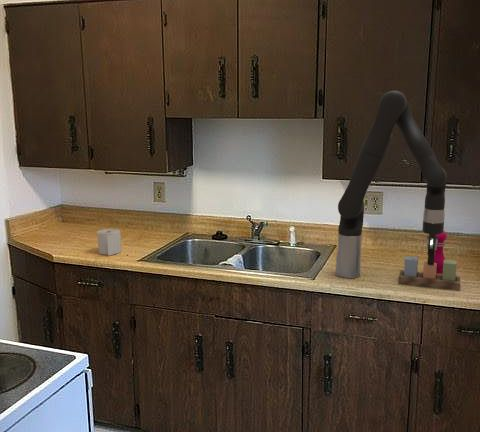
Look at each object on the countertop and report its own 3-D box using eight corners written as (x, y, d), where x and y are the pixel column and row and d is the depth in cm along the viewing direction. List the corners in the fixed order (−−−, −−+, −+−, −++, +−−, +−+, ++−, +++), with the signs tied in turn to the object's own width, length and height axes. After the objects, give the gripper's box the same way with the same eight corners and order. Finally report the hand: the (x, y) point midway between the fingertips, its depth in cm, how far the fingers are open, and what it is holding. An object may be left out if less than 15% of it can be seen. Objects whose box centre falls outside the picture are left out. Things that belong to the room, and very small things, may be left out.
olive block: (442, 280, 205) (443, 263, 204) (442, 277, 209) (443, 259, 208) (455, 282, 203) (456, 264, 202) (455, 278, 208) (456, 260, 206)
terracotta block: (422, 282, 208) (423, 265, 206) (423, 279, 212) (424, 262, 211) (435, 284, 206) (436, 266, 205) (435, 280, 210) (436, 263, 209)
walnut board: (398, 284, 209) (398, 276, 209) (400, 277, 217) (400, 269, 217) (459, 291, 201) (460, 283, 201) (459, 283, 209) (460, 276, 209)
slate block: (403, 276, 210) (404, 259, 209) (404, 273, 214) (405, 256, 213) (416, 278, 208) (417, 260, 207) (417, 274, 213) (418, 257, 211)
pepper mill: (441, 270, 225) (444, 223, 221) (448, 276, 218) (452, 227, 214) (423, 271, 225) (427, 224, 220) (430, 276, 218) (433, 228, 213)
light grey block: (114, 247, 264) (113, 227, 262) (127, 252, 255) (126, 231, 253) (94, 251, 257) (93, 231, 255) (107, 257, 248) (105, 235, 246)
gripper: (424, 216, 211) (421, 258, 215) (422, 223, 199) (419, 268, 203) (444, 217, 209) (441, 260, 212) (443, 224, 197) (440, 270, 200)
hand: (430, 264), depth 208 cm, fingers closed
